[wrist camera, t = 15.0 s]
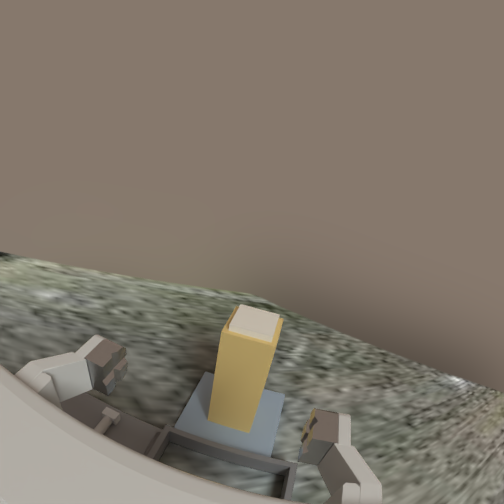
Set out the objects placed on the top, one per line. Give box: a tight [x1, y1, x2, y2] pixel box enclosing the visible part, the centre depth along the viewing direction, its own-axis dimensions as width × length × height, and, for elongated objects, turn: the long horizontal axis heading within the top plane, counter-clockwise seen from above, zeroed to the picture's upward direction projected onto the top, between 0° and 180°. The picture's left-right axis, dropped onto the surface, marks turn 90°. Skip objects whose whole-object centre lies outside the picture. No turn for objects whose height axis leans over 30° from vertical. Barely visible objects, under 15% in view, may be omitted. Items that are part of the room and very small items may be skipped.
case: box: [60, 392, 298, 501], centre depth 18 cm, size 26×16×2 cm, turn 77°
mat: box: [174, 371, 285, 458], centre depth 30 cm, size 10×10×1 cm
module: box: [208, 304, 283, 433], centre depth 28 cm, size 4×4×13 cm
